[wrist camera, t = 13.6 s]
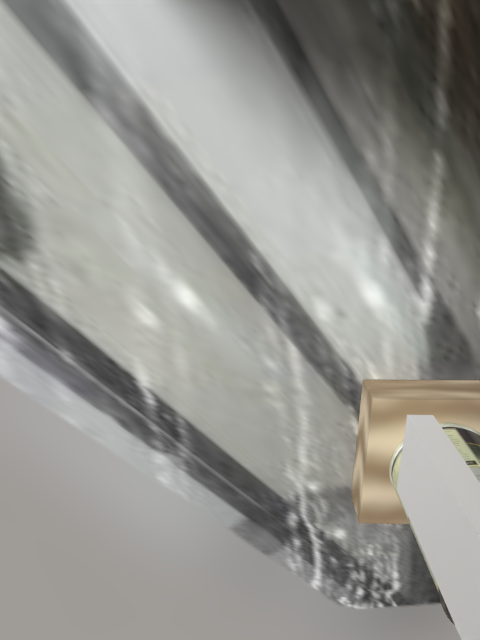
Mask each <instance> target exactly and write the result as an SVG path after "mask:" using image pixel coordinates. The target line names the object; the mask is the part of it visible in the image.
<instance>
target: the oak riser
mask: <svg viewBox="0 0 480 640" xmlns="http://www.w3.org/2000/svg"><path fill="white" fill-rule="evenodd" d="M407 415H433V416H434V417H435V419H436V420H437V421H438V423H456V424H461V425H465V426H468V427H470V428H472V429H474V430H476V431H477V432H479V433H480V381H478V380H363V386H362V396H361V406H360V416H359V426H358V436H357V446H356V456H355V466H354V476H353V486H352V496H351V497H352V500H353V504H354V507H355V511H356V514H357V518H358V521H359V523H374V524H409V521H408V519H407V517H406V514H405V512H404V510H403V507H402V505H401V502H400V500H399V498H398V495H397V493H396V491H395V489H394V487H393V486H392V483H391V480H390V475H389V465H390V462H391V458H392V455H393V453H394V451H395V450H396V448H397V447H398V445H399V444H400V443H401V442H402V441H403V440H404V434H405V427H406V420H407Z"/></svg>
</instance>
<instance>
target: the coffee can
mask: <svg viewBox="0 0 480 640" xmlns="http://www.w3.org/2000/svg"><path fill="white" fill-rule="evenodd" d="M439 424H440V426H441V427H442V429H443V430H444V432H445V433H446V434H447V436H448V437H449V439H450V440H451V442H452V443H453V445H454V446H455V448H456V449H457V450H458V452H459V453H460V455H461V456H462V458H463V459H464V461H465V462H466V463H467V465H468V466H469V468H470V469H471V471H472V472H473V474H474V475H475V477H476V478H477V479H478V481H479V482H480V433H479V432H477V431H476V430H474V429H472V428H470V427H468V426H465V425H461V424H456V423H439ZM403 441H404V440H403ZM403 441H402V442H401V443H400V444H399V445H398V447H397V448H396V450H395V451H394V453H393V455H392V458H391V462H390V465H389V475H390V480H391V483H392V486H393V487H394V489H395V491H396V493H397V495H398V498H399V500H400V502H401V505H402V507H403V510H404V512H405V514H406V517H407V519H408V521H409V524H410V526H411V529H412V531H413V533H414V535H415V537H416V540H417V543H418V545H419V548H420V550H421V552H422V555H423V557H424V559H425V562H426V564H427V567H428V569H429V572H430V574H431V576H432V578H433V581H434V583H435V585H436V587H437V590H438V592H439V597H440V601H441V604H442V607H443V609H444V611H445V613H446V615H447V617H448V618H449V619H450V620H451V622H452V623H453V624H454V622H453V620H452V617H451V615H450V613H449V610H448V608H447V606H446V603H445V601H444V599H443V596H442V594H441V592H440V589H439V587H438V585H437V582H436V580H435V578H434V575H433V573H432V571H431V568H430V566H429V564H428V561H427V559H426V557H425V554H424V552H423V550H422V547H421V545H420V543H419V540H418V538H417V536H416V533H415V531H414V529H413V526H412V524H411V522H410V519H409V517H408V515H407V512H406V510H405V508H404V505H403V503H402V501H401V498H400V496H399V494H398V491H397V484H398V477H399V470H400V463H401V456H402V448H403ZM454 625H455V624H454Z"/></svg>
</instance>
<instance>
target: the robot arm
mask: <svg viewBox="0 0 480 640" xmlns="http://www.w3.org/2000/svg"><path fill="white" fill-rule="evenodd" d="M397 491H398V494H399V496H400V498H401V501H402V503H403V505H404V508H405V510H406V512H407V515H408V517H409V519H410V522H411V524H412V526H413V529H414V531H415V533H416V536H417V538H418V540H419V543H420V545H421V547H422V550H423V552H424V554H425V557H426V559H427V561H428V564H429V566H430V568H431V571H432V573H433V575H434V578H435V580H436V582H437V585H438V587H439V589H440V592H441V594H442V596H443V599H444V601H445V603H446V606H447V608H448V610H449V613H450V615H451V617H452V620H453V622H454V624H455V626H456V629H457V631H458V633H459V636H460V638H461V640H480V482H479V481H478V479H477V478H476V477H475V475H474V474H473V472H472V471H471V469H470V468H469V466H468V465H467V463H466V462H465V461H464V459H463V458H462V456H461V455H460V453H459V452H458V450H457V449H456V448H455V446H454V445H453V443H452V442H451V440H450V439H449V437H448V436H447V434H446V433H445V432H444V430H443V429H442V427H441V426H440V424H439V423H438V421H437V420H436V419H435V417H434V416H433V415H407V420H406V427H405V434H404V441H403V448H402V456H401V463H400V470H399V477H398V484H397Z"/></svg>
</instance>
